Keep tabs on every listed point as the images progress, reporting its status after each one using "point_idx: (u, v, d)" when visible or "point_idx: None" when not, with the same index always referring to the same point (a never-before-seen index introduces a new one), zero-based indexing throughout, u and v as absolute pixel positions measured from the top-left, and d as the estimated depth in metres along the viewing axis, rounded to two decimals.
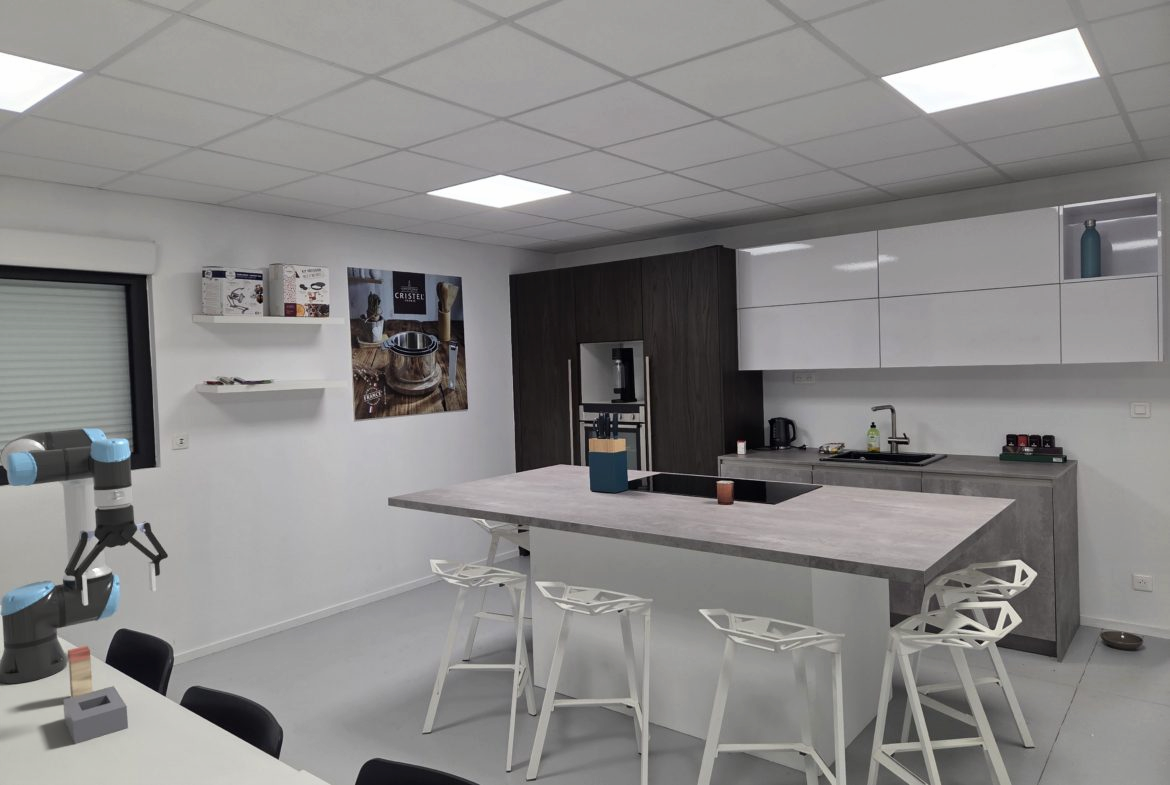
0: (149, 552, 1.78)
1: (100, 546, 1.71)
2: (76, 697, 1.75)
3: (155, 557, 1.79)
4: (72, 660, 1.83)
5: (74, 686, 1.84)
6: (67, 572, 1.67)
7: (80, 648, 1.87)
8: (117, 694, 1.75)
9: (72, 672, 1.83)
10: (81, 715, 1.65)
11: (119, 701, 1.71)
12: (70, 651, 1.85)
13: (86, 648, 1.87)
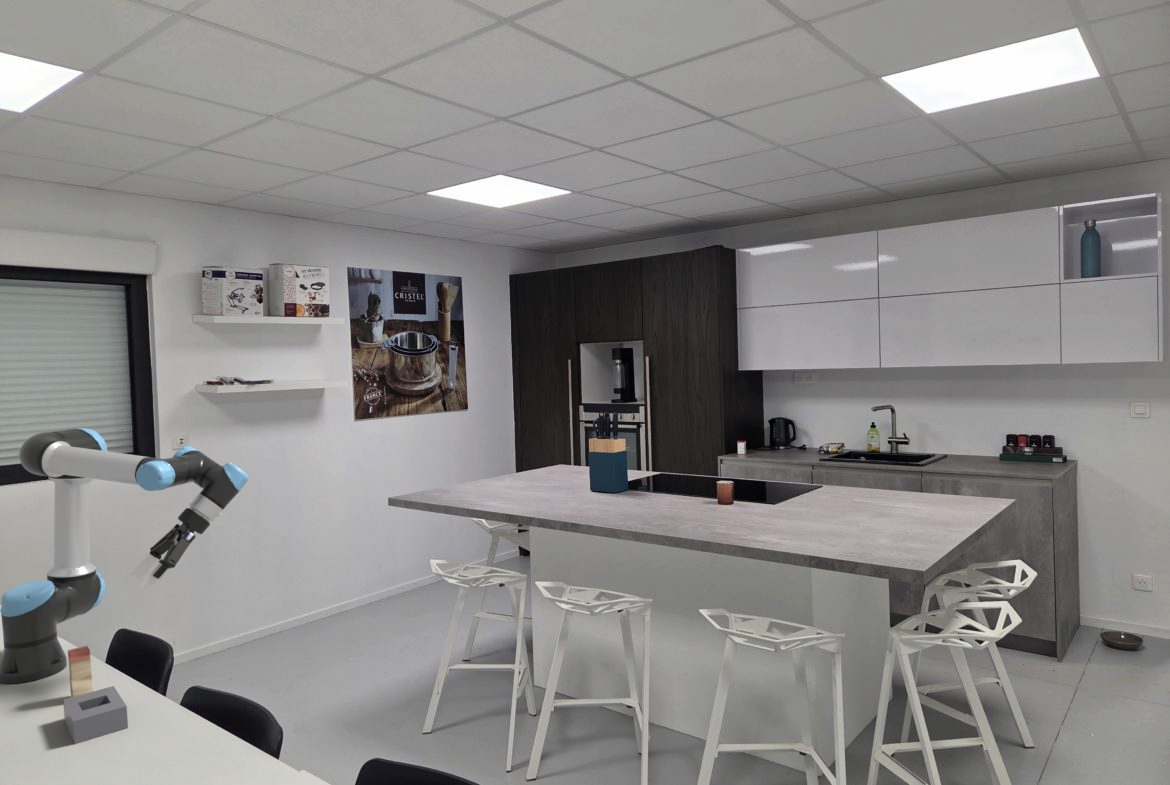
0: None
1: None
2: (76, 697, 1.75)
3: None
4: (72, 660, 1.83)
5: (74, 686, 1.84)
6: None
7: (80, 648, 1.87)
8: (117, 694, 1.75)
9: (72, 672, 1.83)
10: (81, 715, 1.65)
11: (119, 701, 1.71)
12: (70, 651, 1.85)
13: (86, 648, 1.87)
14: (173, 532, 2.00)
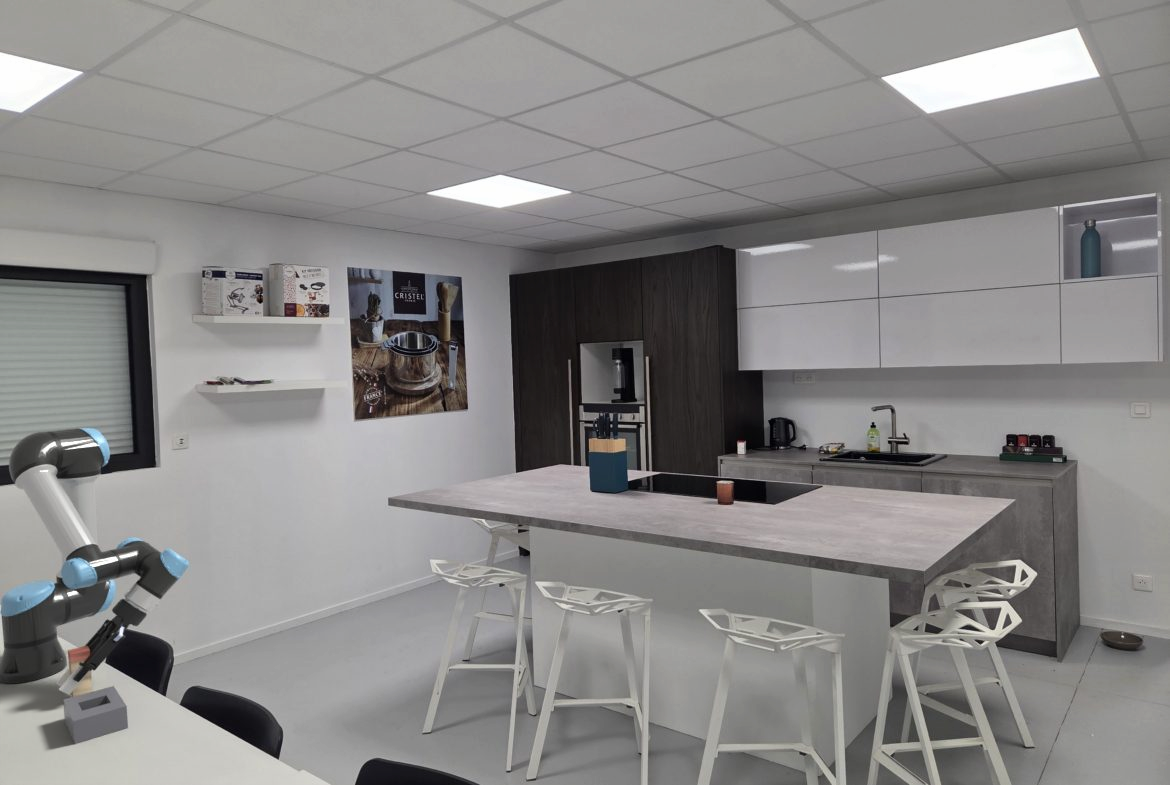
0: None
1: None
2: (76, 697, 1.75)
3: None
4: (72, 660, 1.83)
5: None
6: (96, 668, 1.84)
7: (80, 648, 1.87)
8: (117, 694, 1.75)
9: (72, 672, 1.83)
10: (81, 715, 1.65)
11: (119, 701, 1.71)
12: (70, 651, 1.85)
13: (86, 648, 1.87)
14: (107, 625, 1.90)
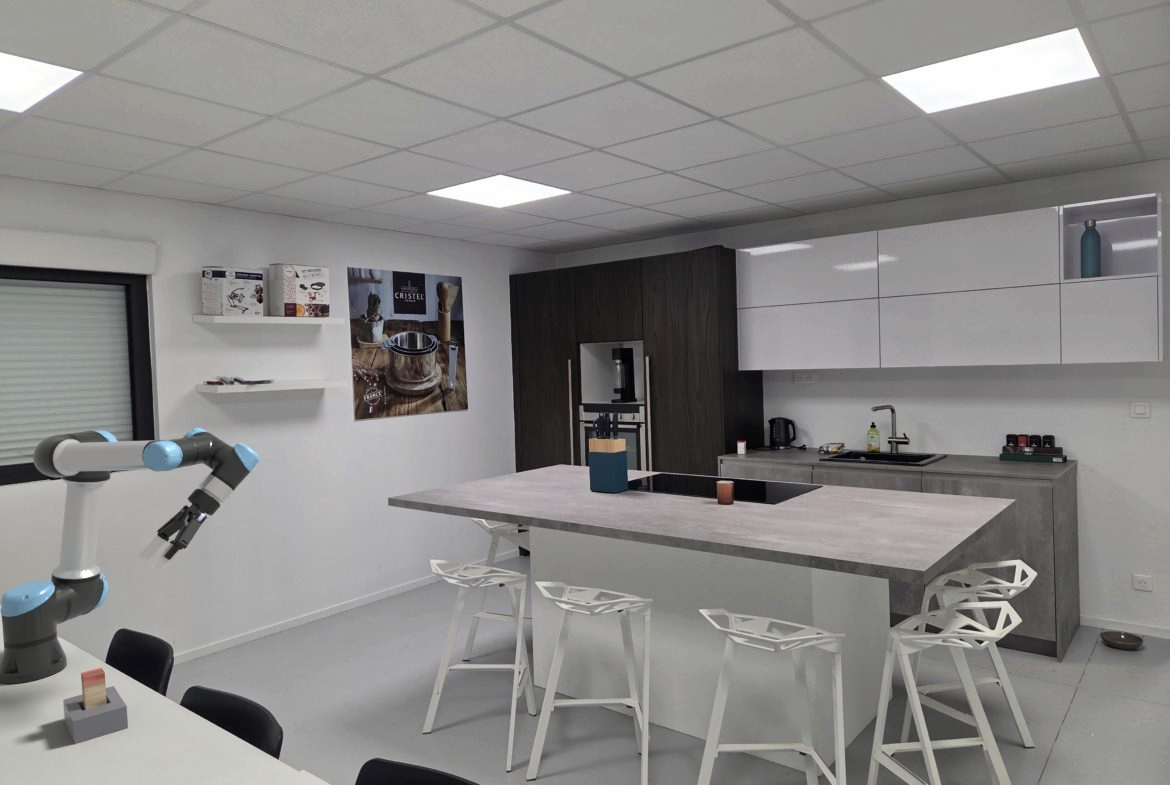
0: None
1: None
2: (76, 697, 1.75)
3: None
4: (86, 684, 1.69)
5: None
6: (186, 546, 1.85)
7: (94, 670, 1.72)
8: (117, 694, 1.75)
9: (86, 697, 1.69)
10: (81, 715, 1.65)
11: (119, 701, 1.71)
12: (83, 674, 1.70)
13: (101, 670, 1.72)
14: (182, 513, 1.95)
